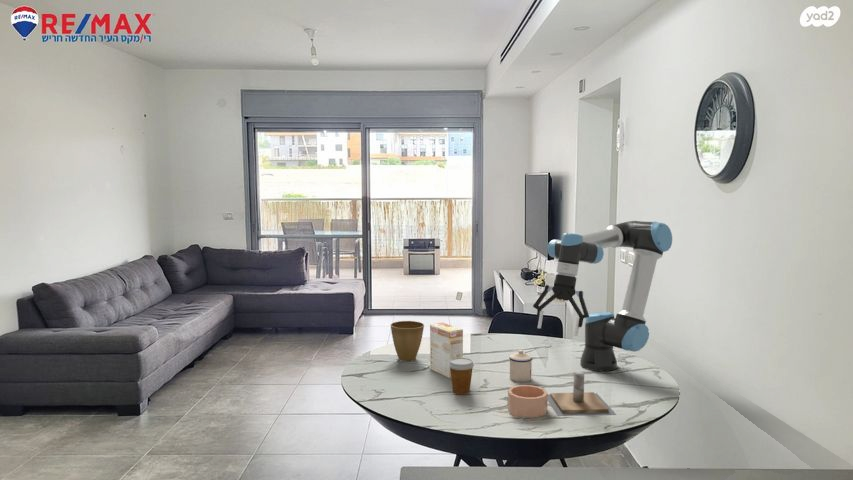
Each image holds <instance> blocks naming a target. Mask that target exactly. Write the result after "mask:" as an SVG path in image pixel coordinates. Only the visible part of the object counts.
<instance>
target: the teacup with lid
mask: <svg viewBox="0 0 853 480" xmlns="http://www.w3.org/2000/svg"><path fill="white" fill-rule="evenodd" d="M508 360H509V379H510V380H512V381H513V382H519V383H525V382H529V381H531V379H532V363H533V362H532V361H533V357H532V356H531V354H527V353H526V352H524V350H522V349H518V352H515V353H512V354H510V355H509V359H508Z"/></svg>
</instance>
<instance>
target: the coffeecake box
mask: <svg viewBox="0 0 853 480" xmlns="http://www.w3.org/2000/svg"><path fill="white" fill-rule="evenodd" d="M429 325H430V326H429V347H430V348H429V359H430V360H429V362H430V363H429V366H430V367H429V370H432V371H433V372H436V373H437V374H440V375H441V376H444V377H445V378H447V379H451V372H450V367H449V363H450V360H451V359H453V358H464V329H462V328H461V327H460V328H459V327H457V326H454V325H451V324H448V323H445V322H438V323H431V324H429Z"/></svg>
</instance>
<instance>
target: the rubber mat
mask: <svg viewBox="0 0 853 480" xmlns="http://www.w3.org/2000/svg"><path fill="white" fill-rule="evenodd" d="M594 393H595V395H596V396H597V397H598V398H599V399H600V400H601V401H602V402H603V403H604V404H605V406H606V407H607V408H608V409H609V413H561V411H560V410H559V408H558V407H557V405H556V404H555V402H554V401H553V399H552V398H551V397H550V393H548V403H549V405H550V407H551V408H552V410H553V412H554V413H555V414H556V416H557V417H572V416H573V417H577V416H578V417H582V416H585V417H586V416H617V413H616V412H615V411H614V410H613V409H612V408H611V407H610V406H609V405H608V404H607V403H606V401H605V400H603V398H602V397H601V396H600V395H599V394H598V392H597V393H596V392H594Z"/></svg>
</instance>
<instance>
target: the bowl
mask: <svg viewBox="0 0 853 480" xmlns="http://www.w3.org/2000/svg"><path fill="white" fill-rule="evenodd" d="M548 394H549V392H548V391H547V390H546V389H545V388H543V387H541V386H536V385H532V384H531V385H530V384H518V385H515V386H511V387H510V388H509V389H507V411H508V413H509V414H510V415H512V417H516V418H520V417H523V418H538V417H542V416H545V415H546V413H548V403H549V402H548Z"/></svg>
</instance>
